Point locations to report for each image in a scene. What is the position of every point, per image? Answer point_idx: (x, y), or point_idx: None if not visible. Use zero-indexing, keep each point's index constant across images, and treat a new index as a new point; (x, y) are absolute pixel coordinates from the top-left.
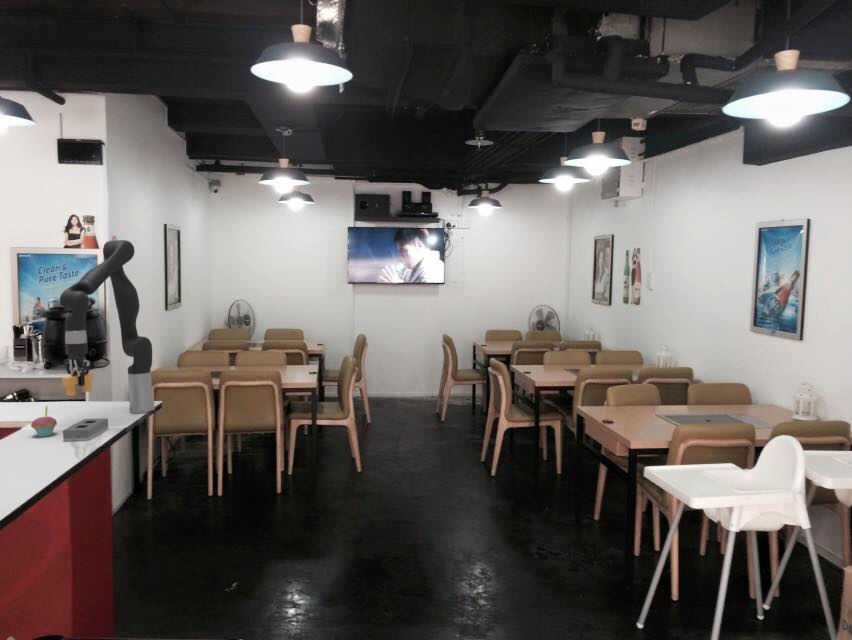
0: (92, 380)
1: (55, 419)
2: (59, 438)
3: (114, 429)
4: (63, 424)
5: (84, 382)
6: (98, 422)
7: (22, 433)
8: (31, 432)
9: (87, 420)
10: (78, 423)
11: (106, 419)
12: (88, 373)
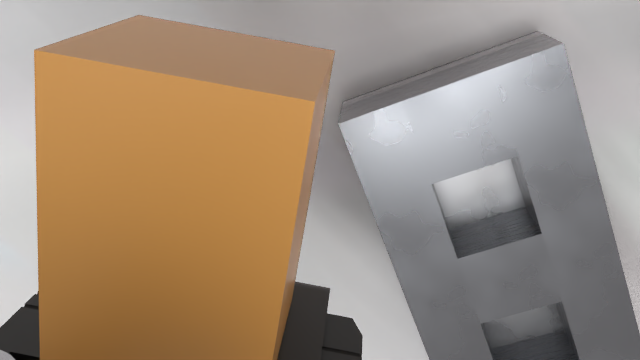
0: (329, 80)
1: None
2: (371, 355)
3: (623, 53)
4: (28, 18)
5: (361, 347)
6: (582, 206)
7: (3, 305)
8: (35, 273)
9: (415, 166)
10: (418, 271)
11: (572, 77)
12: (182, 161)
